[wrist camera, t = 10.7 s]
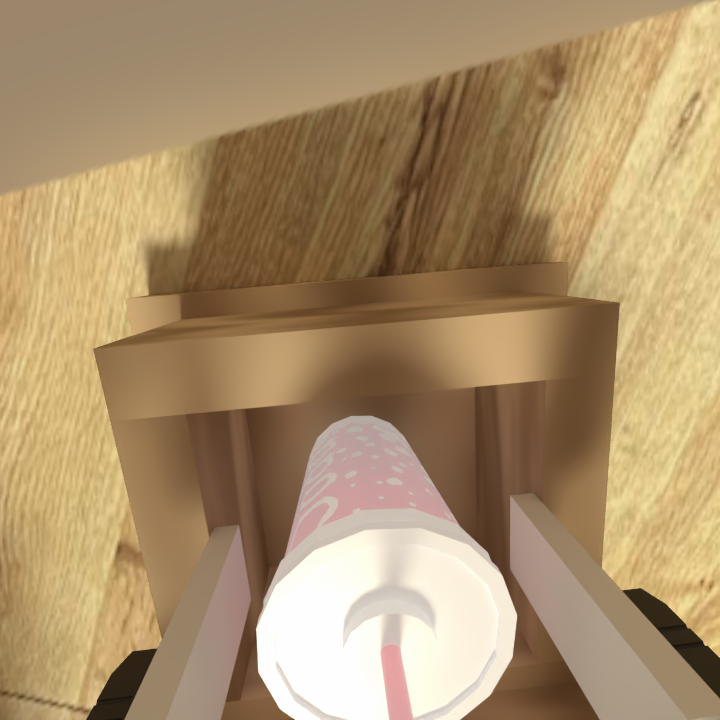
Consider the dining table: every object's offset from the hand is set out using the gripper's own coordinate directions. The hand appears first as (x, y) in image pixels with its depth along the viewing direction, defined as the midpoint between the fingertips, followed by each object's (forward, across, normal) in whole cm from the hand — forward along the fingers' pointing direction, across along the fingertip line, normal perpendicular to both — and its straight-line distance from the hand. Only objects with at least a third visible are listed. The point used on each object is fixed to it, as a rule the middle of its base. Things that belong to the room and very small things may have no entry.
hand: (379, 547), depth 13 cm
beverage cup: (+6, 0, 0) cm, 6 cm away
